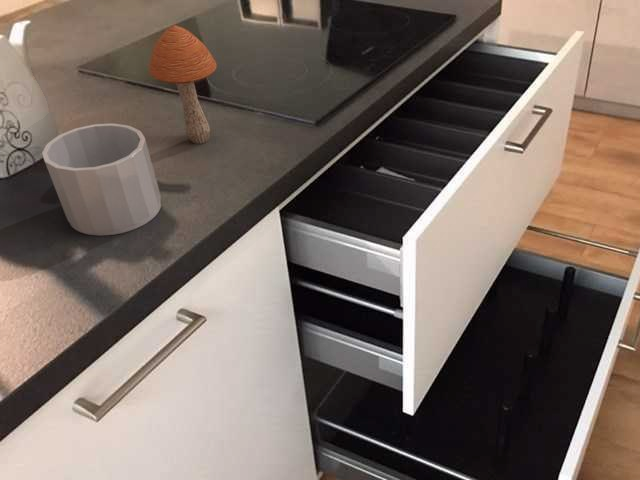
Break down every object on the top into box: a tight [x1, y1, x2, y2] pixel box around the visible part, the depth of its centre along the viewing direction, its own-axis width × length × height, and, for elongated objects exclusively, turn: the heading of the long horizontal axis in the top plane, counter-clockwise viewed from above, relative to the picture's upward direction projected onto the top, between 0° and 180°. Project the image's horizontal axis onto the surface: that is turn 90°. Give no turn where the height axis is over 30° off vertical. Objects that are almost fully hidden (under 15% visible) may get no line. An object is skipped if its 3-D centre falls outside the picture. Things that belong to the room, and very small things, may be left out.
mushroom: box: [148, 24, 218, 144], centre depth 81 cm, size 8×8×15 cm
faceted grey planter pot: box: [41, 122, 162, 237], centre depth 71 cm, size 10×10×8 cm
